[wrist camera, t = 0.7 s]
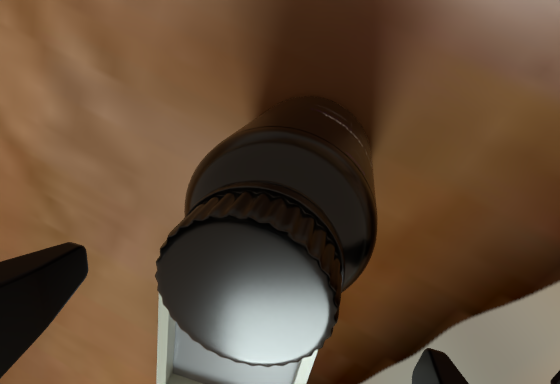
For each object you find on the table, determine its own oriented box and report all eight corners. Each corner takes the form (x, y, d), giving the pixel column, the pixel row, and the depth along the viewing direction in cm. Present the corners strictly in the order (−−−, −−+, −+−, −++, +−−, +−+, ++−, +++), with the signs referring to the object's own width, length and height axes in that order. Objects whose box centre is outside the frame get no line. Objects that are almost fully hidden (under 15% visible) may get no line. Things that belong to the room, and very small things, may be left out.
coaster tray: (335, 292, 22) (334, 314, 20) (289, 425, 29) (285, 449, 28) (172, 244, 24) (157, 260, 22) (165, 382, 31) (153, 403, 29)
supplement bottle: (386, 107, 17) (440, 220, 6) (352, 220, 20) (347, 427, 9) (258, 81, 18) (109, 141, 7) (244, 193, 21) (123, 355, 10)
